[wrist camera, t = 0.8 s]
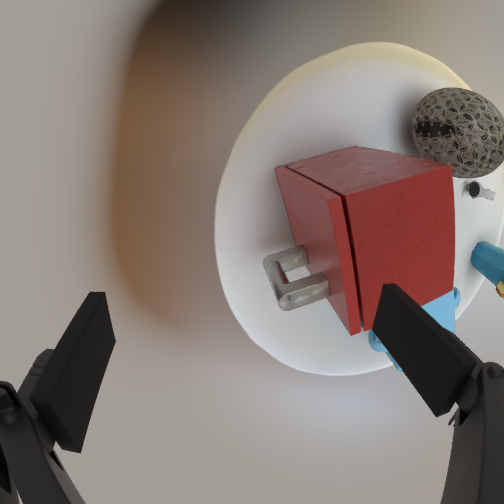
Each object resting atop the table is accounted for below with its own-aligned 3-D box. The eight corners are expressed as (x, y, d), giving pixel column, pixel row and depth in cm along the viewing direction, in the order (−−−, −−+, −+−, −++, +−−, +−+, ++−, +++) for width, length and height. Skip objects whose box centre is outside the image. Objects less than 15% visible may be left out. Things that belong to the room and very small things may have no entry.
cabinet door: (262, 266, 40) (296, 356, 24) (235, 180, 36) (256, 222, 19) (305, 252, 41) (361, 331, 24) (282, 165, 36) (341, 196, 20)
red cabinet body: (306, 252, 41) (364, 331, 24) (284, 165, 36) (345, 195, 19) (371, 229, 41) (453, 290, 24) (356, 145, 36) (451, 165, 19)
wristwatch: (464, 177, 39) (485, 184, 35) (481, 183, 40) (501, 190, 36) (461, 194, 41) (481, 202, 36) (477, 199, 41) (497, 207, 37)
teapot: (336, 282, 43) (376, 334, 31) (421, 235, 42) (475, 270, 30) (362, 357, 50) (393, 408, 38) (432, 316, 49) (471, 356, 37)
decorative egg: (389, 87, 33) (467, 78, 19) (449, 93, 34) (523, 95, 20) (396, 170, 38) (471, 195, 24) (453, 166, 39) (525, 189, 25)
